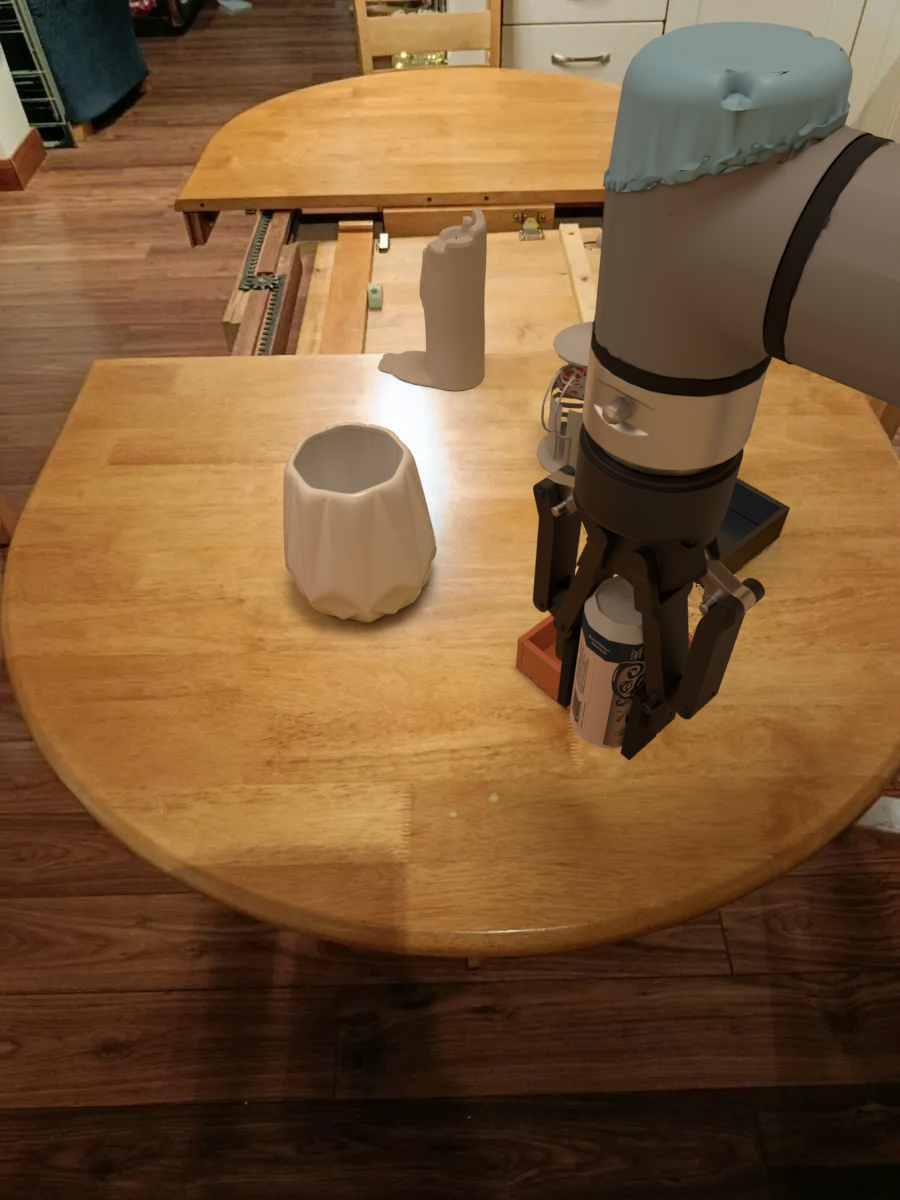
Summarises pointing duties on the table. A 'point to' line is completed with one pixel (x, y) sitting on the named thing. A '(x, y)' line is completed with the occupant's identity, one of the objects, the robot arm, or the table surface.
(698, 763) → the table surface
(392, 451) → the vase
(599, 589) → the beer can
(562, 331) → the french press
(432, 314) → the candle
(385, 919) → the table surface
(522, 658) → the terracotta bin
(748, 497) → the black bin
